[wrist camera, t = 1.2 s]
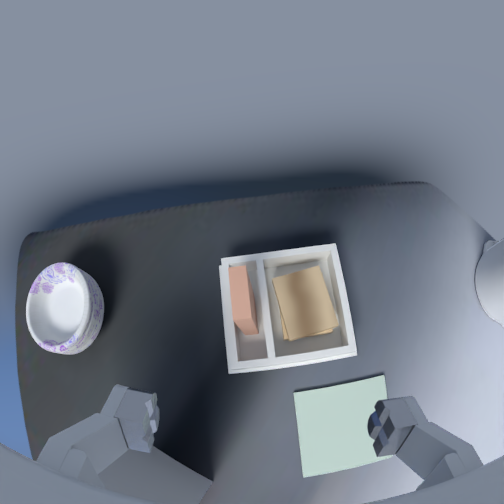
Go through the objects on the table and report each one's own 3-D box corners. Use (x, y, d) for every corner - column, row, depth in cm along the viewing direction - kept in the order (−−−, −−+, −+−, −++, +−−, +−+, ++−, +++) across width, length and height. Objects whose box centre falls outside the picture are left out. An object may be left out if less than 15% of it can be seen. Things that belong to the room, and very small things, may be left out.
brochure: (123, 457, 38) (-13, 501, 10) (136, 434, 39) (-6, 468, 12) (197, 504, 34) (112, 610, 7) (213, 481, 36) (132, 589, 8)
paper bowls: (70, 372, 44) (42, 368, 36) (41, 306, 49) (16, 295, 42) (128, 326, 47) (104, 316, 39) (92, 260, 52) (69, 243, 45)
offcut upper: (317, 270, 45) (319, 265, 43) (336, 327, 41) (338, 324, 39) (272, 282, 45) (271, 278, 43) (289, 341, 41) (289, 339, 39)
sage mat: (383, 374, 40) (384, 374, 40) (391, 456, 35) (392, 456, 34) (293, 392, 41) (293, 392, 40) (303, 476, 35) (303, 477, 35)
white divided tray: (335, 252, 49) (341, 239, 44) (355, 355, 42) (364, 353, 37) (220, 267, 49) (214, 256, 45) (229, 373, 43) (224, 373, 38)
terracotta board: (254, 295, 46) (245, 265, 34) (258, 333, 44) (251, 317, 32) (241, 296, 46) (228, 267, 34) (245, 335, 44) (233, 320, 32)
